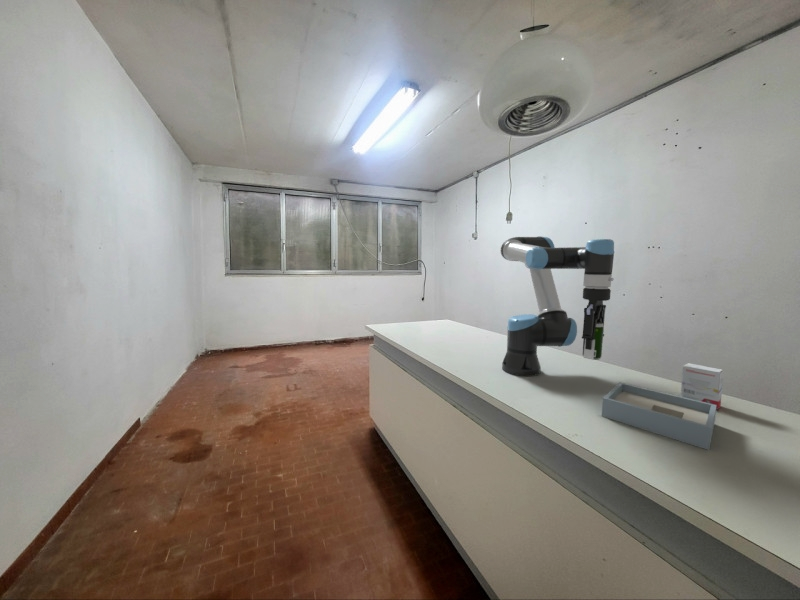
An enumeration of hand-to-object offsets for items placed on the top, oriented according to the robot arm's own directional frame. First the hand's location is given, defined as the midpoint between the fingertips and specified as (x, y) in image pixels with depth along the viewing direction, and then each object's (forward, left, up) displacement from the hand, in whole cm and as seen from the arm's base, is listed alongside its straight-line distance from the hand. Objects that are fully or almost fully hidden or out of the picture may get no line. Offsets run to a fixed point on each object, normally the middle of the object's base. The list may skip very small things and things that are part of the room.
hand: (591, 356), depth 100 cm
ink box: (+25, +20, -14) cm, 35 cm away
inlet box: (+18, -4, -14) cm, 23 cm away
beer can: (0, 0, -1) cm, 1 cm away
